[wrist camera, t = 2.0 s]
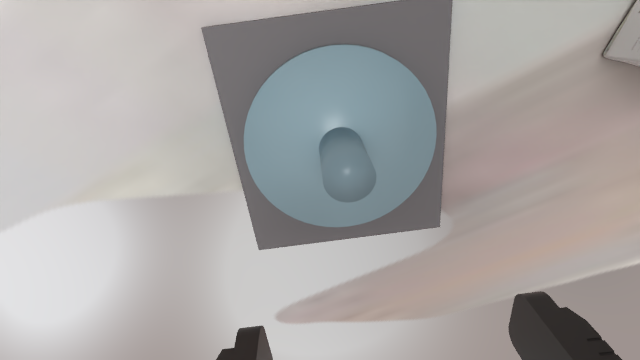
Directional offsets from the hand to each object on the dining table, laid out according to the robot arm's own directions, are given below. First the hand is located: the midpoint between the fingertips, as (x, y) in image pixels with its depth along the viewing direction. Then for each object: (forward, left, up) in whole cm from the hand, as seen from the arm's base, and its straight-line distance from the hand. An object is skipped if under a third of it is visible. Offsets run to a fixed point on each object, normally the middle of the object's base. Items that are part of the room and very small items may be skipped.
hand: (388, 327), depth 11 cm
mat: (0, 0, -17) cm, 17 cm away
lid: (0, 0, -16) cm, 16 cm away
